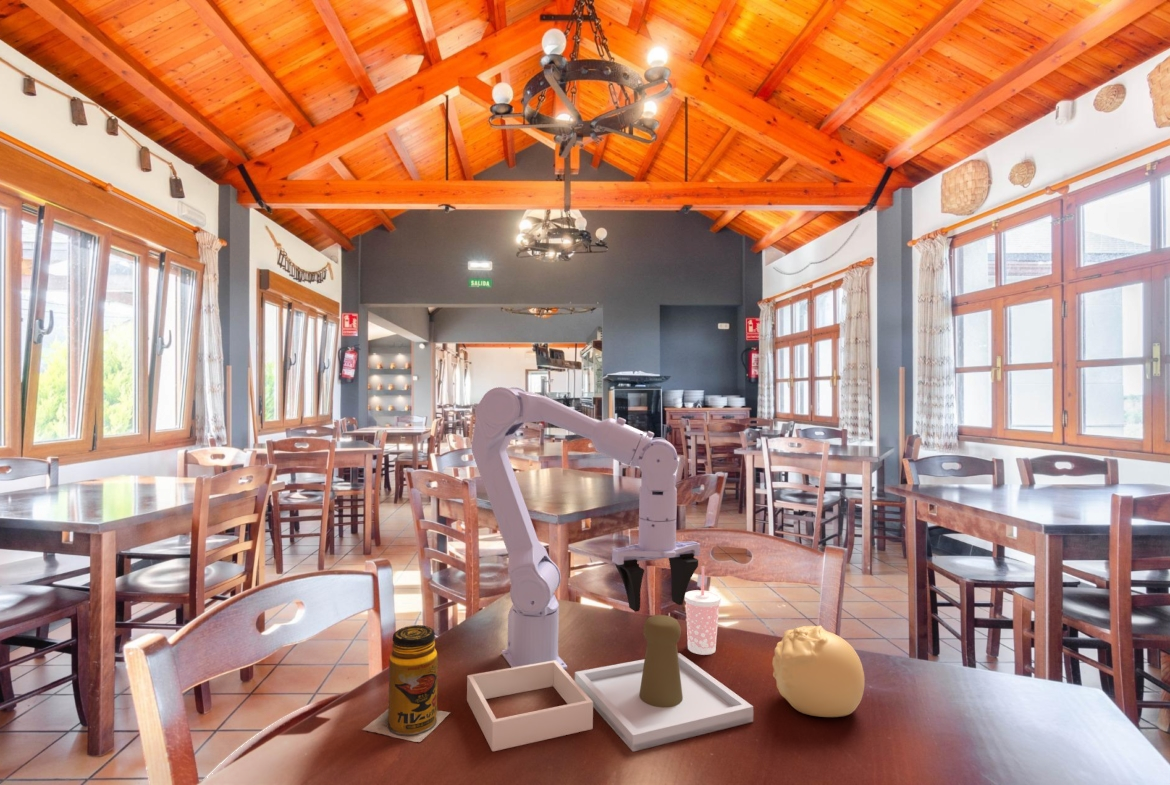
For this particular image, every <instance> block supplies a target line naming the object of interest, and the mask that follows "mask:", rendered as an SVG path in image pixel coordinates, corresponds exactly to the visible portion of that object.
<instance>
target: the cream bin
mask: <svg viewBox="0 0 1170 785" xmlns="http://www.w3.org/2000/svg"><path fill="white" fill-rule="evenodd" d="M466 679H467V680H466V681H467V683H466V690H467V691H466V701H467V703H468V706H469V707H470V709H471V711H472V713H473V715H474V718H475V719H476V722H477V723H478V725H479V728H480V729H481V732H482V733H483V735H484V737H485V739H486V742H487V743H488V746H489V748H490V750H491V751H492V753H493V752H496V751H501V750H505V749H510V748H514V747H515V748H516V747H519V746H523V745H524V746H525V745H527V744H533V743H537V742H541V741H545V740H549V739H550V740H551V739H554V738H558V737H564V736H566V735H571V734H577V733H579V732H580V733H582V732H585V731H589V730H593V726H594V725H593V724H594V719H593V718H594V707H593V701H592V700H591V699H590V698H589V697H588V695H587V694H586V693H585V692H584V691H583V690H582V689H581V688H580V687H579V685H578V684H577V683H576V682H575V679H574V678H573V677H572V676H571V675H570V674H569V673H568V671H566V669H563V667H562V666H561V665H560V664H559V663H558V662H557V661H556V660H553V661H548V662H542V663H536V664H530V665H524V666H519V667H513V668H512V667H508V668H502V669H496V670H491V671H485V672H479V673H478V672H477V673H473V674H468V675H467V676H466ZM551 687H553V688H554V689H555V690H556V691H557V693H558V694H559V695H560V697H561V698H562V699H563V700H564V701H565V703H566V704H563V705H559V706H553V707H548V708H544V709H538V710H534V711H529V712H524V713H523V712H522V713H519V714H515V715H509V716H505V717H499V718H497V717H496V716H495V714H494V712H493V711H492V709H491V707H490V705H489V703H488V701H487V700H488V699H493V698H497V697H503V696H509V695H513V694H520V693H525V692H530V691H535V690H541V689H545V688H551Z"/></svg>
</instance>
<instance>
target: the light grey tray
mask: <svg viewBox="0 0 1170 785" xmlns="http://www.w3.org/2000/svg"><path fill="white" fill-rule="evenodd" d="M644 660H645V658H644V659H639V660H634V661H627V662H621V663H617V664H612V665H611V664H610V665H606V666H605V665H604V666H599V667H594V668H590V669H589V668H588V669H583V670H578V671H575V672H574V681H575V682H576V683H577V684H578V685H579V687H580V688H581V689H582V690H583V691H584V692H585V693H586V694H587V695H588V697H589V698H590V699H591V700H592V701H593V709H595V711H596V712H597V713H598V714H599V715H600V716H601V718H603V720H604V721H605V722H606V723H607V725H609V726H610V728H612V730H613V731H614V732H615V734H616V735H618V737H620V739H621V740H622V741H623V742H624V743H625V744H626V746H627V747H628V748H629V749H630V750H631V751H632V752H638V751H641V750H645V749H649V748H653V747H657V746H661V745H665V744H670V743H673V742H678V741H681V740H684V739H688V738H689V739H690V738H693V737H696V736H701V735H706V734H708V733H709V734H710V733H714V732H717V731H721V730H725V729H729V728H733V727H737V726H742V725H745V724H746V725H747V724H750V723H753V722H754V706H753V705H752V704H750V703H749V702H748V701H747V700H745V699H743V698H742V697H741V696H739V694H736V693H735V692H734V691H733V690H731V689H730V688H728V687H727V686H726V685H724V684H723V683H722V682H720V681H719V680H717V679H716V678H714V677H713V676H712V675H710V674H709V673H708V672H707V671H705V670H704V669H702V668H701V667H700V666H698V665H697V664H696V663H694V662H693V661H692V660H690V659H689V658H687V657H686V656H684V655H683V654H682V653H680V652H678V660H679V669H680V678H681V687H682V696H683V699H682V702H681V703H680V704H678V705H676V706H673V707H664V708H662V707H655V706H651V705H648V704H646V703H645V702H643V701H642V700H641V699H640V696H639V694H640V687H641V680H642V673H643V667H644Z"/></svg>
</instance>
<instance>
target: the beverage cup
mask: <svg viewBox="0 0 1170 785" xmlns="http://www.w3.org/2000/svg"><path fill="white" fill-rule="evenodd" d="M700 579H701V583H700V584H701V586H700V590H699V589H696V590H689V591H686V593H685V597H684V602H685V610H686V611H685V613H686V615H685V616H686V632H687V633H686V634H687V650H688V651H689V652H691V653H693V654H697V655H703V656H705V655H712V654H714V653H716V647H717V635H718V626H719V625H718V623H719V610H720V604H721V602H722V601H721V599H722V597H721V595H720V594H718V593H716V592H714V591H710V590H705V565H701V577H700Z"/></svg>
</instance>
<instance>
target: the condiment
mask: <svg viewBox="0 0 1170 785" xmlns="http://www.w3.org/2000/svg"><path fill="white" fill-rule="evenodd" d="M435 634H436V633H435V631H434V629H433V628H431V627H430V626H427V625H421V624H420V625H419V624H414V625H407V626H404V627H402V628H399V629H397V630H396V631H395V632H394V633H393V634H392V635H393V636H392V646H391V650H392V652H391V653H390V655H389V660H388V662H389V664H388V665H389V667H388V708H387V709H386V710H385V711H384V712H382V713H381V714H380V715H379V716H377V718H375V719H373V720H372V721H371V722H370V723H369V724H368V725H366V726H365V727H363V728H362V731H365V732H366V731H368V732H370V733H377V734H379V735H384V736H388V737H391V738H396V739H401V740H405V741H410V742H415V743H420V742H422V741H423V740H424V739H425V738H427V737H428V736H429V735H430V734H431V733H432V732H433V731H434V730H435V729H436V728H437V727H438V726H439V725H440V724H441V723H442V722H443V721H444V720H445V719H446V717H448V716H449V714H451V712H450V711H449V712H448V711H443V710H438V691H439V690H438V681H439V680H438V669H439V667H438V666H439V662H438V660H439V658H438V652H437V650H436V648H435V647H436V641H435V636H436V635H435Z"/></svg>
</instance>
